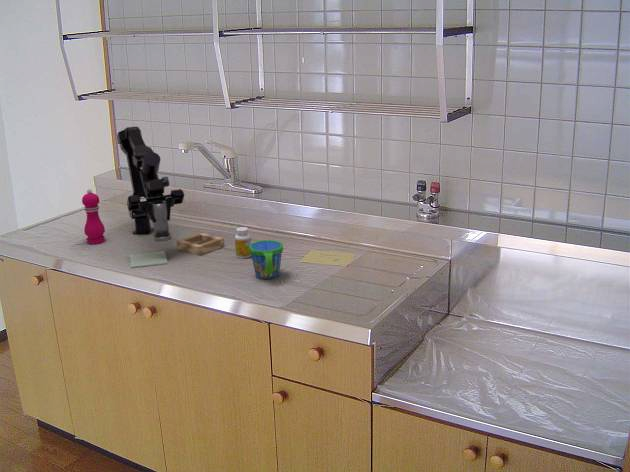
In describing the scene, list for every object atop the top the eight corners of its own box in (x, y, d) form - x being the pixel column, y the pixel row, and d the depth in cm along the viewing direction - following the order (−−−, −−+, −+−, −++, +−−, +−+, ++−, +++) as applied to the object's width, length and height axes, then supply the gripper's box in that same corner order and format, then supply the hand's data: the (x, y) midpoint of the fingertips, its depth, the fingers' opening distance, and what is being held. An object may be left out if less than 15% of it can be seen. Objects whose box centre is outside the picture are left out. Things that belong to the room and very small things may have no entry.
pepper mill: (109, 238, 261) (102, 186, 254) (101, 245, 254) (94, 191, 248) (90, 238, 261) (83, 186, 255) (82, 244, 255) (75, 191, 248)
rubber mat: (129, 256, 241) (129, 255, 241) (165, 252, 244) (164, 251, 244) (130, 268, 230) (130, 266, 230) (167, 263, 233) (167, 262, 233)
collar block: (177, 249, 247) (176, 241, 246) (202, 240, 256) (201, 232, 255) (199, 255, 240) (199, 247, 239) (224, 246, 249) (224, 238, 248)
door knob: (162, 234, 241) (158, 200, 237) (175, 237, 238) (171, 202, 234) (149, 239, 236) (146, 204, 232) (163, 242, 233) (159, 206, 229)
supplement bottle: (232, 256, 239) (230, 229, 236) (244, 252, 243) (242, 225, 240) (243, 259, 235) (241, 232, 232) (255, 255, 239) (253, 228, 236)
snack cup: (285, 284, 214) (283, 252, 211) (250, 285, 213) (248, 254, 210) (283, 266, 229) (282, 236, 225) (251, 267, 228) (249, 238, 225)
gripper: (124, 172, 229) (135, 213, 223) (180, 166, 237) (192, 205, 231) (123, 190, 239) (132, 229, 233) (176, 183, 246) (187, 221, 240)
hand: (161, 221), depth 234 cm, fingers closed on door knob, 5 cm apart
